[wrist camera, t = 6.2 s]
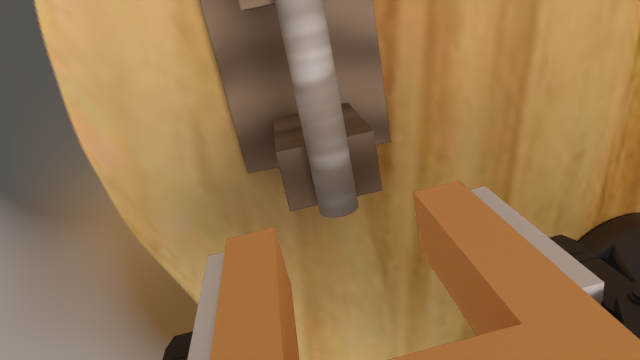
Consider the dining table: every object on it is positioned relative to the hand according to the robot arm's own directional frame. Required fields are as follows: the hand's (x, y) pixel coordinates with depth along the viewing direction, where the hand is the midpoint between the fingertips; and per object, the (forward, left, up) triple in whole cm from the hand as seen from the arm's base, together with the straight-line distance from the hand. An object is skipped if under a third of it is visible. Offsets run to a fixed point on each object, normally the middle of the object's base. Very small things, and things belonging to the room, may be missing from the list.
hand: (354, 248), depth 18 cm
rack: (+6, 0, -19) cm, 20 cm away
